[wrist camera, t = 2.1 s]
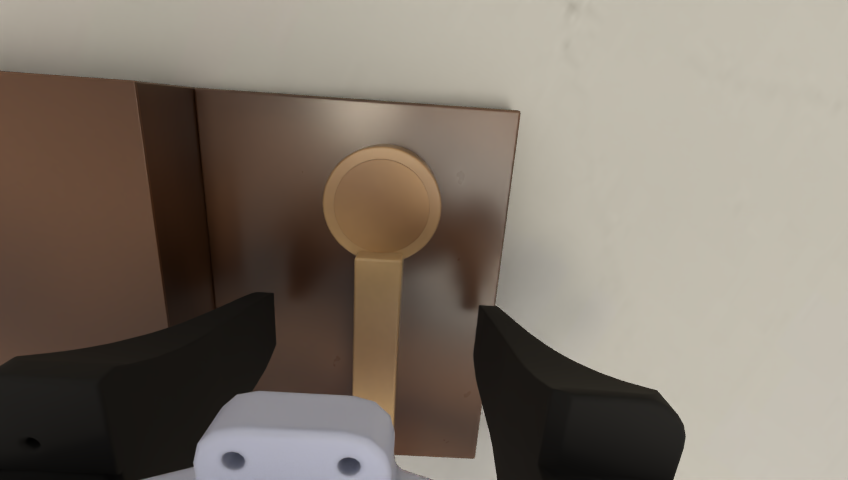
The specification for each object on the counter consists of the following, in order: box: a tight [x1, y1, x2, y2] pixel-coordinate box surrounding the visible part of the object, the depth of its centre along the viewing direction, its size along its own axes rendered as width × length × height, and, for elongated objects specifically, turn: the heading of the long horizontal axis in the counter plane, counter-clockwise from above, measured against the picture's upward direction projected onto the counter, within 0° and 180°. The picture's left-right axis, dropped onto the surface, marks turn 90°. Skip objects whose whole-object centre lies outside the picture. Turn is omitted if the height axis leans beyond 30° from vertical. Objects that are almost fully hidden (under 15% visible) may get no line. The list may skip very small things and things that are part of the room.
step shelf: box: [0, 71, 521, 459], centre depth 15 cm, size 15×20×4 cm
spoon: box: [323, 144, 441, 427], centre depth 15 cm, size 12×4×2 cm, turn 176°
